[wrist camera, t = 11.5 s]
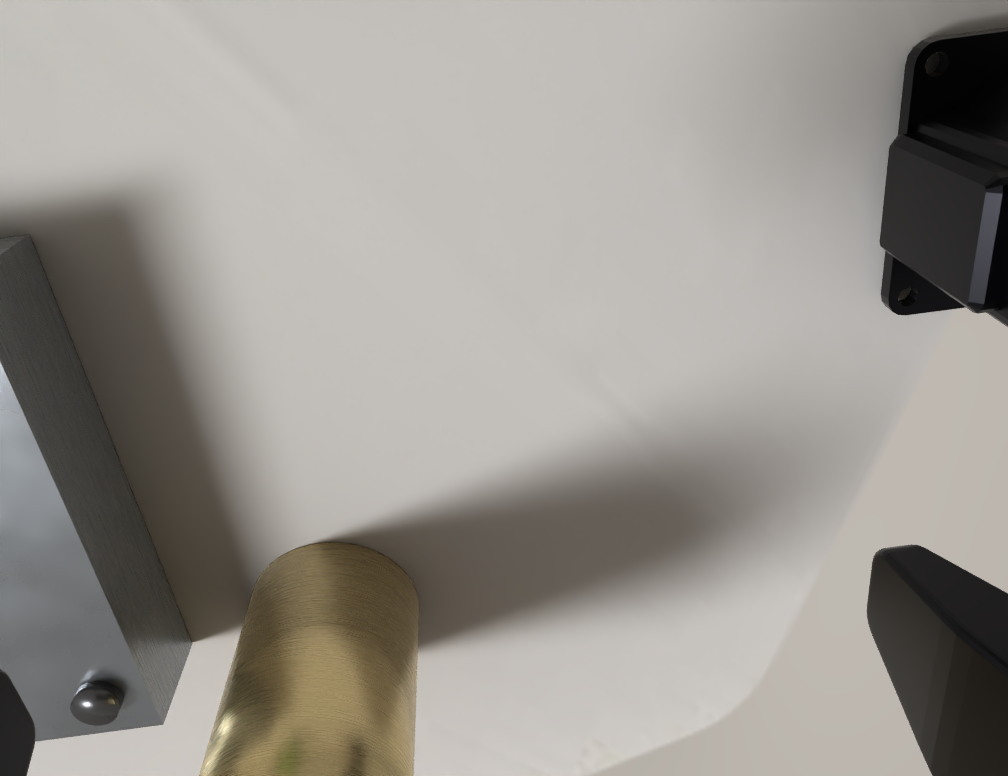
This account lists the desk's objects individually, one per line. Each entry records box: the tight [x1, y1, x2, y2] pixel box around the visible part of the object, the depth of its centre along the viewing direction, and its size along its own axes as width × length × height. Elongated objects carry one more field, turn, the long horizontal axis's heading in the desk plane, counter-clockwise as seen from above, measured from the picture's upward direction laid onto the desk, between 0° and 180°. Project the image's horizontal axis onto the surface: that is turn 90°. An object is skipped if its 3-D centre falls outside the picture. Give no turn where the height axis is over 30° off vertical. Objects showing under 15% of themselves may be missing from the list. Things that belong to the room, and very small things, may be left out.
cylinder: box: [199, 543, 419, 776], centre depth 20 cm, size 5×5×11 cm
